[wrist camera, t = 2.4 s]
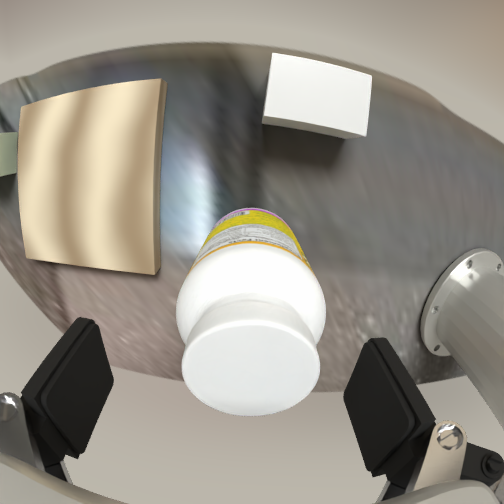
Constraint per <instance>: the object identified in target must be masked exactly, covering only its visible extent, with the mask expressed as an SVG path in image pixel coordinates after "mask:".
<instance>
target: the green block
mask: <svg viewBox="0 0 504 504" xmlns="http://www.w3.org/2000/svg"><path fill="white" fill-rule="evenodd" d="M17 139H18V132H12V133H0V176H5V175H9V174H13V173H16V160H17Z"/></svg>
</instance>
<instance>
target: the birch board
mask: <svg viewBox="0 0 504 504" xmlns="http://www.w3.org/2000/svg"><path fill="white" fill-rule="evenodd" d="M166 92H167V83H166V82H165V81H164V80H162V79H151V80H141V81H132V82H124V83H117V84H111V85H105V86H99V87H94V88H89V89H84V90H79V91H75V92H71V93H67V94H63V95H59V96H55V97H51V98H48V99H44V100H41V101H38V102H35V103H31V104H28V105H25V106H23V107H21V115H20V125H19V140H18V191H19V206H20V217H21V226H22V233H23V240H24V247H25V252H26V258H30V259H36V260H43V261H49V262H56V263H63V264H71V265H78V266H85V267H93V268H101V269H109V270H117V271H126V272H134V273H143V274H152V275H155V274H156V273H157V271H158V270H159V269H160V267H161V259H160V171H161V150H162V135H163V122H164V111H165V101H166Z"/></svg>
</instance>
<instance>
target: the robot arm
mask: <svg viewBox="0 0 504 504" xmlns="http://www.w3.org/2000/svg"><path fill="white" fill-rule="evenodd" d="M420 330H421V338H422V340H423V343H424V344H425V346H426V347H427V349H428V350H429V351H430V352H431V353H432V354H435V355H437V356H449V355H452V357H453V358H454V359H455V360H456V362H457V363H458V364H459V366H460V367H461V368H462V370H463V371H464V372H465V374H466V375H467V376H468V378H469V379H470V380H471V382H472V383H473V385H474V386H475V387H476V389H477V390H478V392H479V393H480V394H481V396H482V397H483V399H484V400H485V402H486V403H487V405H488V406H489V408H490V409H491V410H492V412H493V414H494V415H495V417H496V418H497V420H498V421H499V423H500V424H501V426H502V427H503V429H504V265H503V262H502V261H501V259H500V257H499V256H498V255H496V254H495V253H494V252H492V251H490V250H488V249H484V248H478V249H473V250H471V251H468V252H466V253H465V254H463V255H462V256H460V257H459V258H457V259H456V260H455V261H454V262H453V263H452V264H451V265H450V266H449V267H448V268H447V269H446V271H445V272H444V273H443V274H442V275H441V277H440V278H439V280H438V281H437V283H436V284H435V286H434V288H433V290H432V291H431V293H430V295H429V297H428V300H427V302H426V305H425V307H424V310H423V314H422V318H421V326H420ZM113 382H114V379H113V375H112V372H111V369H110V365H109V362H108V358H107V355H106V352H105V348H104V344H103V341H102V337H101V333H100V329H99V326H98V325H97V324H95V322H94V320H92V319H87V318H82V317H78V318H77V319H76V320H75V321H74V323H73V324H72V325H71V326H70V328H69V329H68V330H67V331H66V332H65V334H64V335H63V336H62V337H61V339H60V340H59V341H58V342H57V344H56V345H55V346H54V348H53V349H52V350H51V352H50V353H49V354H48V355H47V357H46V358H45V360H44V361H43V362H42V364H41V365H40V366H39V368H38V369H37V371H36V372H35V373H34V374H33V376H32V377H31V379H30V380H29V382H28V383H27V384H26V386H25V388H24V389H23V390H22V392H21V393H22V396H21V398H19V396H17V395H16V394H13V393H10V392H7V393H2V394H0V504H127V503H124V502H120V501H117V500H114V499H110V498H107V497H104V496H102V495H98V494H96V493H93V492H90V491H88V490H85V489H83V488H80V487H77V486H75V485H73V483H72V480H71V478H70V476H69V473H68V471H67V468H66V466H65V463H64V460H63V459H64V457H65V454H66V455H68V456H71V457H74V458H76V459H78V457H79V455H80V454H82V453H84V452H85V449H86V447H87V444H88V442H89V439H90V437H91V435H92V432H93V430H94V427H95V425H96V423H97V420H98V418H99V415H100V413H101V411H102V408H103V406H104V404H105V402H106V400H107V397H108V395H109V393H110V391H111V389H112V386H113ZM343 397H344V402H345V405H346V408H347V411H348V414H349V417H350V420H351V423H352V426H353V429H354V432H355V435H356V438H357V441H358V444H359V447H360V450H361V453H362V457H363V460H364V463H365V466H366V469H367V470H368V471H371V473H372V476H373V477H376V476H380V475H383V474H386V477H387V482H386V484H385V486H384V488H383V490H382V492H381V494H380V496H379V497H378V500H377V501H376V503H374V504H504V460H503V459H502V457H501V456H500V455H499V454H498V453H496V452H494V451H491V450H488V449H485V448H482V447H479V446H476V445H474V444H471V443H468V442H467V436H466V432H465V431H464V429H463V428H462V427H461V426H460V425H459V424H458V423H456V422H453V421H448V420H447V421H442V422H440V423H438V424H437V425H436V423H435V422H434V421H435V420H436V418H435V417H434V415H433V414H432V412H431V410H430V408H429V406H428V404H427V403H426V401H425V399H424V398H423V396H422V394H421V393H420V391H419V389H418V388H417V386H416V384H415V383H414V381H413V379H412V378H411V376H410V374H409V373H408V371H407V370H406V368H405V366H404V365H403V363H402V362H401V360H400V359H399V357H398V355H397V354H396V352H395V351H394V349H393V348H392V346H391V345H390V343H389V342H388V340H387V339H386V338H371V339H369V340H368V342H367V343H365V344H364V345H363V348H362V350H361V353H360V356H359V358H358V361H357V363H356V366H355V368H354V371H353V373H352V375H351V378H350V380H349V382H348V385H347V387H346V389H345V391H344V396H343Z"/></svg>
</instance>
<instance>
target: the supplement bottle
mask: <svg viewBox="0 0 504 504" xmlns="http://www.w3.org/2000/svg"><path fill="white" fill-rule="evenodd" d="M176 320H177V326H178V330H179V333H180V335H181V338H182V340H183V342H184V343H185V345H186V346H185V350H184V354H183V358H182V375H183V378H184V381H185V383H186V385H187V387H188V388H189V390H190V391H191V392H192V393H193V394H194V395H195V397H197V398H198V399H199V400H200V401H201V402H203V403H204V404H206V405H208V406H210V407H211V408H213V409H216V410H218V411H221V412H224V413H228V414H232V415H238V416H263V415H270V414H274V413H278V412H281V411H283V410H286V409H288V408H290V407H292V406H294V405H296V404H297V403H299V402H300V401H301V400H303V399H304V398H305V397H306V396H307V395H308V394H309V393H310V392H311V391H312V389H313V388H314V386H315V385H316V382H317V380H318V377H319V374H320V360H319V356H318V352H317V349H316V345H317V343H318V341H319V339H320V337H321V335H322V332H323V329H324V325H325V320H326V306H325V300H324V296H323V292H322V289H321V287H320V285H319V283H318V281H317V279H316V277H315V275H314V273H313V271H312V269H311V267H310V265H309V263H308V261H307V259H306V257H305V255H304V253H303V251H302V249H301V247H300V245H299V243H298V241H297V239H296V237H295V236H294V234H293V232H292V230H291V229H290V227H289V226H288V225H287V223H286V222H285V221H284V220H283V219H281V218H280V217H279V216H277V215H276V214H274V213H272V212H269V211H267V210H263V209H258V208H244V209H239V210H236V211H233V212H231V213H229V214H227V215H226V216H224V217H223V218H222V219H220V220H219V221H218V222H217V223H216V224H215V226H214V227H213V228H212V230H211V231H210V233H209V235H208V237H207V239H206V241H205V242H204V244H203V246H202V248H201V250H200V252H199V254H198V256H197V258H196V260H195V262H194V263H193V265H192V267H191V269H190V271H189V273H188V275H187V277H186V279H185V281H184V283H183V285H182V287H181V290H180V292H179V295H178V299H177V305H176Z"/></svg>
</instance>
